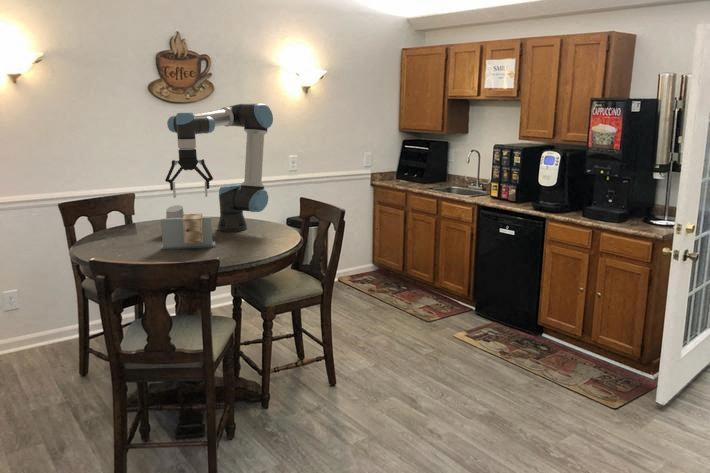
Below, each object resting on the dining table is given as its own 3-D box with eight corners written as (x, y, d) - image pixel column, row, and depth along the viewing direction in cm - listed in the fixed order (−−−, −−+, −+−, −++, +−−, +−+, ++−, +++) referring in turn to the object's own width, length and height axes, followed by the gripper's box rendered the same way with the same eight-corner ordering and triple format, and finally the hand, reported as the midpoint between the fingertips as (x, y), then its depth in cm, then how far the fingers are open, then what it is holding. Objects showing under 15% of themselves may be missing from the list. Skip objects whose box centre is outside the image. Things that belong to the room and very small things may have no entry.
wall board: (215, 243, 277) (213, 214, 273) (214, 246, 271) (213, 217, 268) (162, 246, 272) (159, 217, 269) (160, 249, 266) (158, 219, 263)
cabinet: (203, 236, 273) (202, 213, 270) (202, 243, 262) (200, 219, 259) (185, 237, 271) (184, 214, 268) (184, 243, 261) (182, 220, 258)
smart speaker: (162, 234, 295) (160, 207, 292) (174, 230, 304) (172, 204, 300) (178, 236, 292) (176, 208, 288) (189, 232, 300) (187, 205, 297)
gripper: (216, 147, 261) (219, 194, 266) (158, 148, 256) (162, 196, 261) (216, 148, 253) (219, 197, 258) (156, 150, 249) (160, 199, 254)
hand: (190, 196), depth 260 cm, fingers open, 13 cm apart
